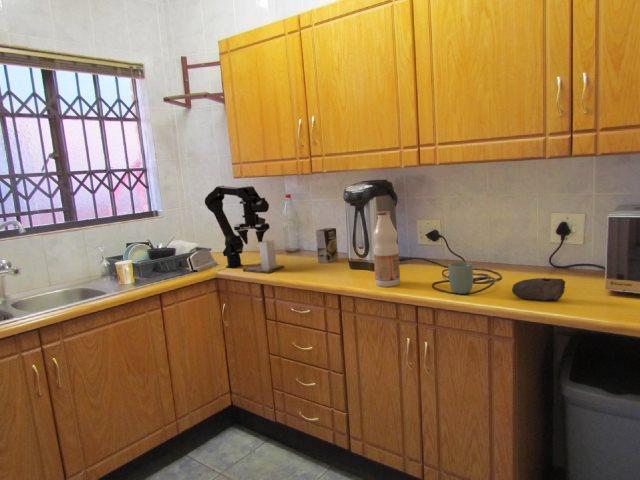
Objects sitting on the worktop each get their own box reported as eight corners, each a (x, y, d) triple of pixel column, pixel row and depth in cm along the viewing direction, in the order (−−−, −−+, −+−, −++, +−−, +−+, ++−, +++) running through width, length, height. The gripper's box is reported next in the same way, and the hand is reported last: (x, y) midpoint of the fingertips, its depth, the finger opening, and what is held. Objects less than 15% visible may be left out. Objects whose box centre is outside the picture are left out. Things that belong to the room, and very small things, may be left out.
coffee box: (328, 263, 219) (325, 230, 216) (317, 262, 223) (315, 230, 220) (338, 259, 226) (336, 227, 223) (328, 258, 230) (326, 227, 227)
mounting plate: (242, 271, 216) (242, 269, 216) (259, 265, 226) (259, 263, 226) (267, 273, 207) (267, 271, 207) (284, 267, 216) (284, 265, 216)
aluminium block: (261, 268, 212) (258, 242, 210) (269, 266, 216) (266, 240, 214) (268, 269, 209) (266, 242, 207) (276, 267, 213) (273, 240, 211)
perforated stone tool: (511, 300, 142) (510, 279, 140) (512, 295, 146) (512, 275, 145) (565, 304, 134) (565, 281, 133) (565, 298, 139) (565, 277, 138)
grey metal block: (198, 271, 224) (190, 253, 224) (191, 274, 226) (183, 256, 226) (218, 264, 239) (211, 247, 239) (211, 267, 241) (204, 250, 241)
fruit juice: (378, 288, 167) (373, 214, 163) (373, 282, 177) (368, 211, 172) (403, 285, 168) (399, 211, 164) (396, 279, 177) (392, 209, 173)
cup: (467, 296, 149) (467, 267, 147) (445, 294, 154) (444, 265, 152) (477, 290, 154) (476, 262, 153) (455, 288, 159) (454, 260, 158)
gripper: (275, 210, 217) (278, 241, 220) (247, 210, 228) (251, 241, 231) (259, 213, 208) (263, 246, 211) (231, 213, 219) (235, 245, 222)
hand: (253, 244), depth 219 cm, fingers open, 9 cm apart
